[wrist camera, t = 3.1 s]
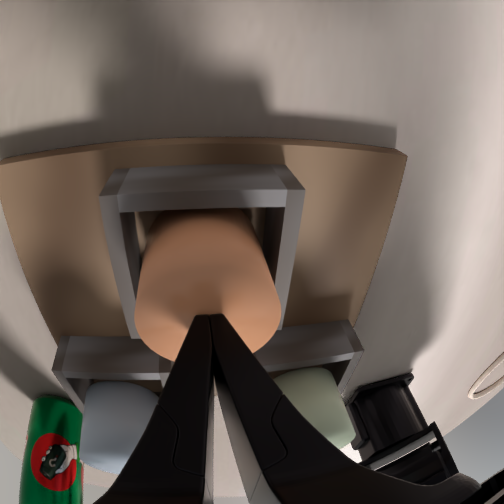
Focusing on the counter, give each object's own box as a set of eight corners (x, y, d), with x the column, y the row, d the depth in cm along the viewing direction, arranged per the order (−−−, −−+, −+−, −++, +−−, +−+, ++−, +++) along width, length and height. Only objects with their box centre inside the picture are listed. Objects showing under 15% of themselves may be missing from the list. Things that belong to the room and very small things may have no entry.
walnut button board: (395, 149, 13) (441, 177, 10) (326, 369, 22) (340, 407, 20) (3, 158, 10) (-38, 191, 7) (89, 385, 19) (84, 425, 16)
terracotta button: (261, 195, 12) (290, 259, 8) (253, 287, 14) (272, 360, 11) (140, 199, 11) (121, 267, 8) (152, 292, 13) (147, 368, 10)
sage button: (341, 361, 16) (367, 422, 13) (323, 400, 19) (341, 452, 16) (263, 373, 16) (281, 442, 12) (257, 411, 18) (269, 467, 15)
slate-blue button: (154, 380, 15) (154, 452, 11) (166, 417, 17) (169, 476, 14) (75, 379, 14) (65, 446, 10) (99, 416, 16) (96, 472, 13)
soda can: (23, 390, 19) (4, 521, 9) (70, 391, 20) (58, 537, 10) (53, 419, 22) (44, 534, 12) (98, 420, 22) (96, 545, 13)
